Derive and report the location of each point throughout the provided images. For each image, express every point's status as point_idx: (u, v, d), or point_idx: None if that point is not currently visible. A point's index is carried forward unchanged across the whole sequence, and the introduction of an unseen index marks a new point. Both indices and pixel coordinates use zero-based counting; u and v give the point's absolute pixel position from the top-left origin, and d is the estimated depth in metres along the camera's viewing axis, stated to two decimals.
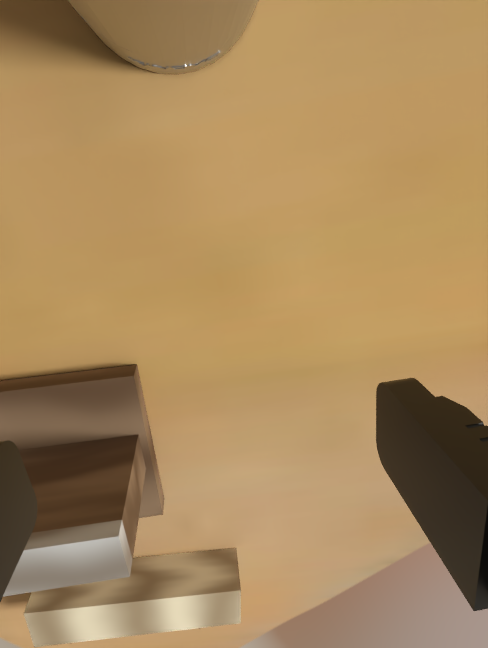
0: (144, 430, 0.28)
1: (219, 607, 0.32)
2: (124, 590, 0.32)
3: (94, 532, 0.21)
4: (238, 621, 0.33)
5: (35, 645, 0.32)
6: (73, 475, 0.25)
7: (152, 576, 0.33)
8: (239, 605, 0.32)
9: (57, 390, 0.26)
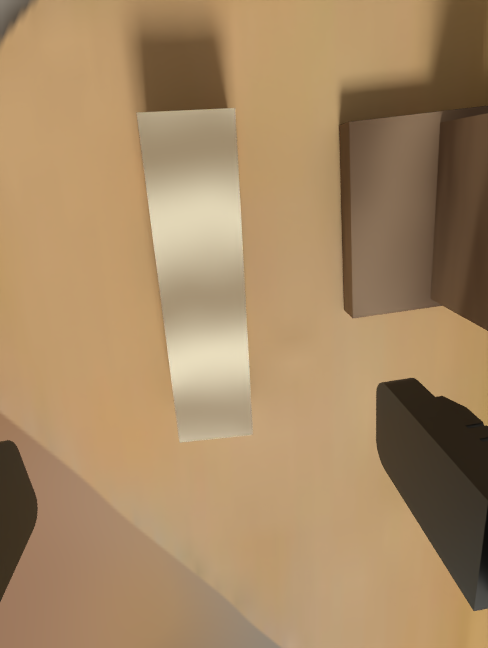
0: None
1: (219, 412, 0.22)
2: None
3: None
4: (183, 439, 0.22)
5: (141, 115, 0.17)
6: None
7: None
8: (220, 436, 0.22)
9: None
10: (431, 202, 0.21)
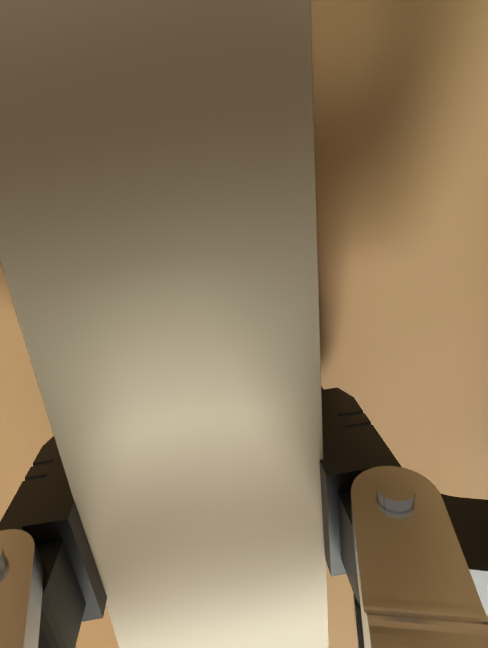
0: None
1: None
2: None
3: None
4: None
5: None
6: None
7: None
8: None
9: None
10: None
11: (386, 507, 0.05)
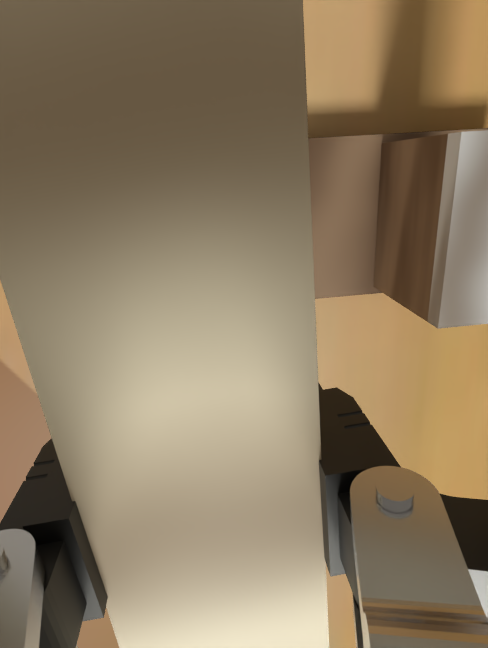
0: None
1: None
2: None
3: None
4: None
5: None
6: None
7: None
8: None
9: None
10: (374, 206, 0.26)
11: (385, 507, 0.05)
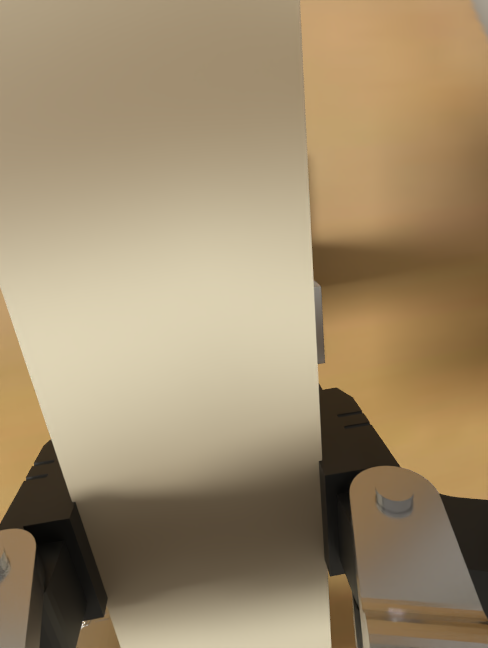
0: None
1: None
2: None
3: None
4: None
5: None
6: None
7: None
8: None
9: None
10: None
11: (385, 507, 0.05)
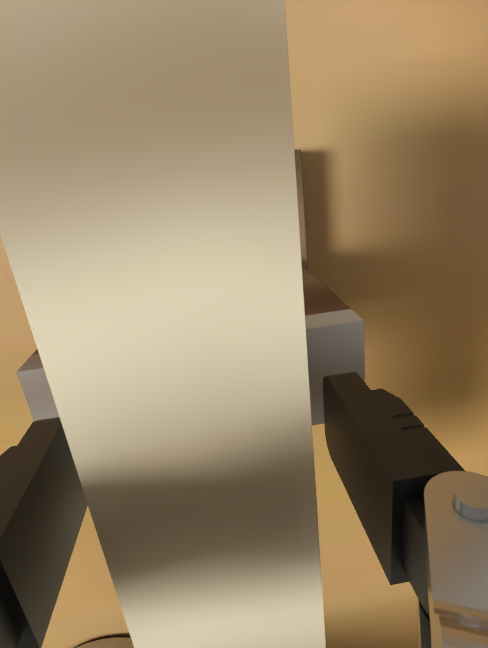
0: None
1: None
2: None
3: None
4: None
5: None
6: None
7: None
8: None
9: None
10: None
11: (466, 515, 0.05)
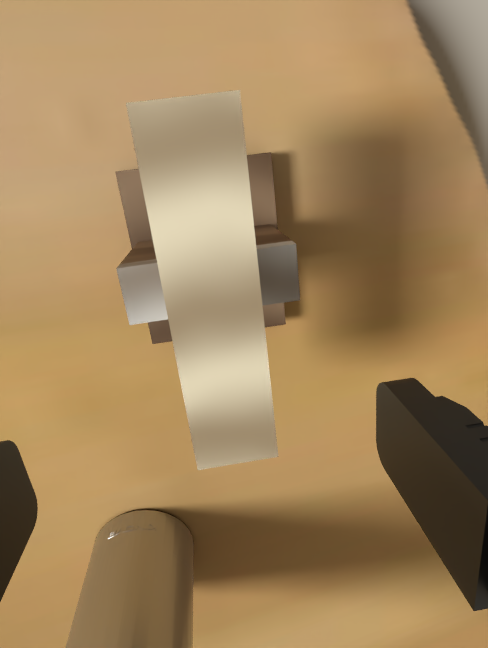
0: None
1: (240, 434, 0.20)
2: None
3: None
4: (202, 466, 0.20)
5: (132, 106, 0.14)
6: None
7: None
8: (242, 461, 0.20)
9: None
10: None
11: None
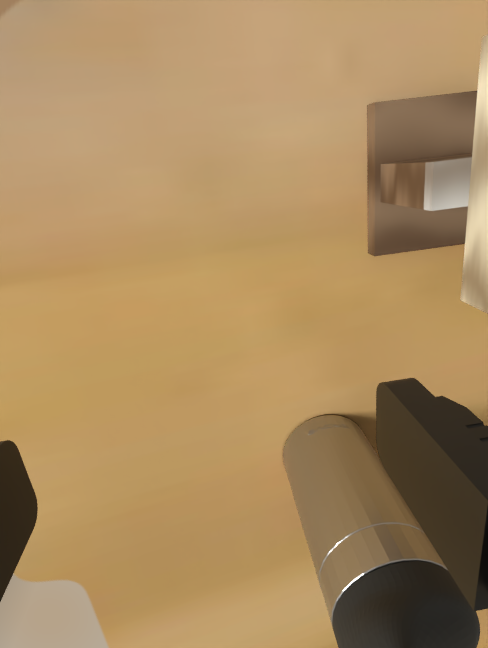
0: (375, 205, 0.34)
1: None
2: None
3: None
4: None
5: None
6: None
7: None
8: None
9: (427, 244, 0.36)
10: (443, 152, 0.33)
11: None
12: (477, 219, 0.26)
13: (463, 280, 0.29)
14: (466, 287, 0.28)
